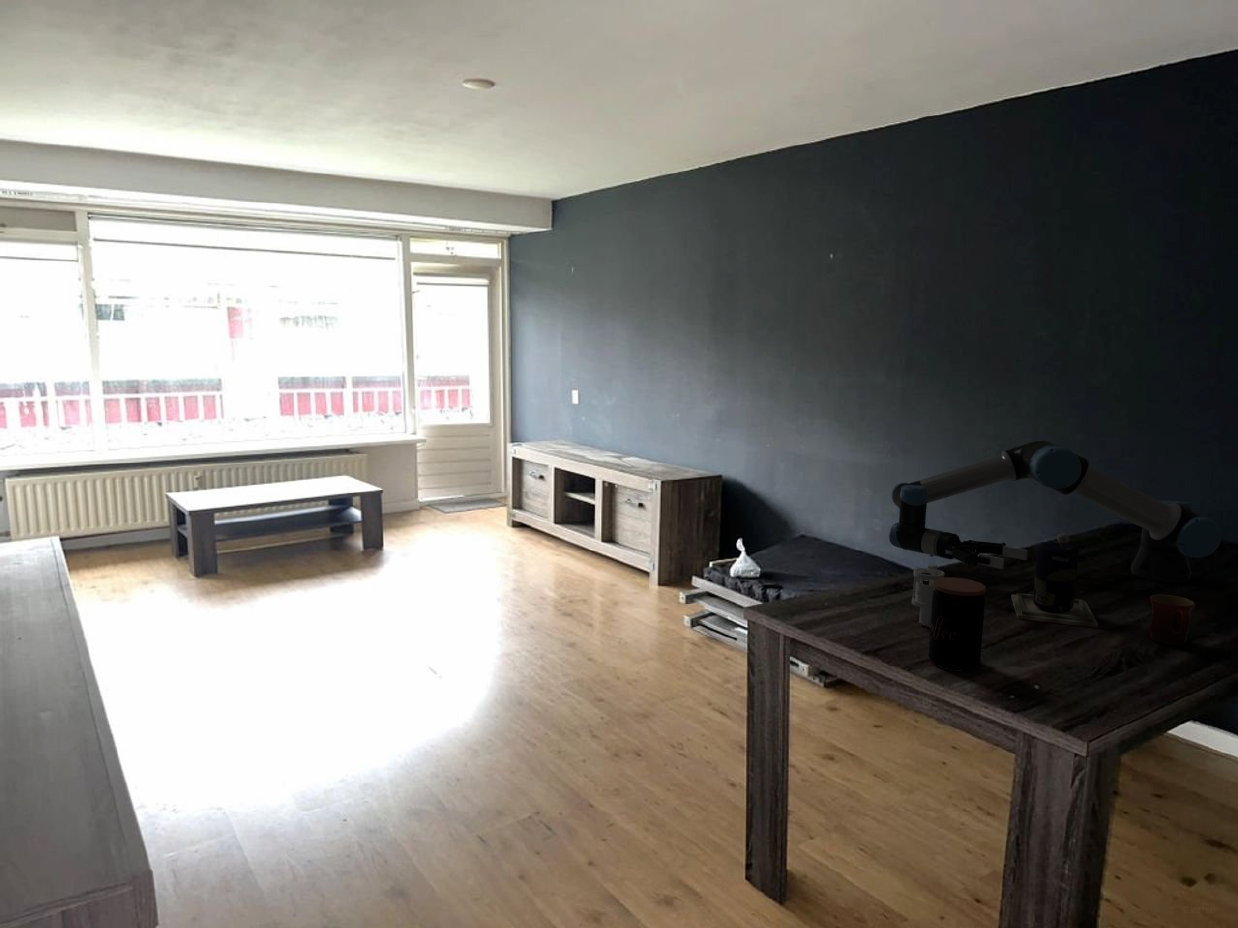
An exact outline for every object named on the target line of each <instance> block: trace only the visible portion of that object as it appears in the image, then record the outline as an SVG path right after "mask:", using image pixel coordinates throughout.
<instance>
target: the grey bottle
mask: <svg viewBox="0 0 1238 928" xmlns="http://www.w3.org/2000/svg"><path fill="white" fill-rule="evenodd" d="M924 573H925V574H924ZM926 573H928V574H926ZM939 578H945V572H944V571H943V570H940V569H938V565H937V564H930V565H928V567H917V568H914V569H913V585H912V587H913V588H912V597H911V604H912V605H913V606H915V607H917V608H919V619H918V620H919V621H918V624H919V623H921V624H923V625H927V626H930V624H931V609H932V594H933V591H934V590H935V588H934V587H933V581H934V580H936V579H939ZM923 581H924V582H928V584H924V583H923Z"/></svg>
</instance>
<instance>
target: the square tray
mask: <svg viewBox="0 0 1238 928" xmlns="http://www.w3.org/2000/svg"><path fill="white" fill-rule="evenodd" d="M1015 593H1016V594H1011V601H1012V605H1013V607H1014V611H1015V615H1016V619H1018V620H1026V621H1037V622H1043V623H1051V624H1052V623H1053V624H1062V625H1070V626H1079V627H1088V628H1094V629H1095V628H1096V629H1098V628H1099V623H1098V621H1097V620H1096V617H1095V616H1094V613H1093V612H1092V611H1091V609H1090V607H1089V606H1088V604H1087V602H1086V601H1084V600H1083V599H1076V598H1074V606H1073V608H1072V609H1071V610H1069V611H1064V612H1056V611H1049V610H1045V609H1041V608H1039V607H1037V606H1036V605H1035V604H1034V603H1033V594H1028V593H1020V592H1015Z"/></svg>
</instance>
